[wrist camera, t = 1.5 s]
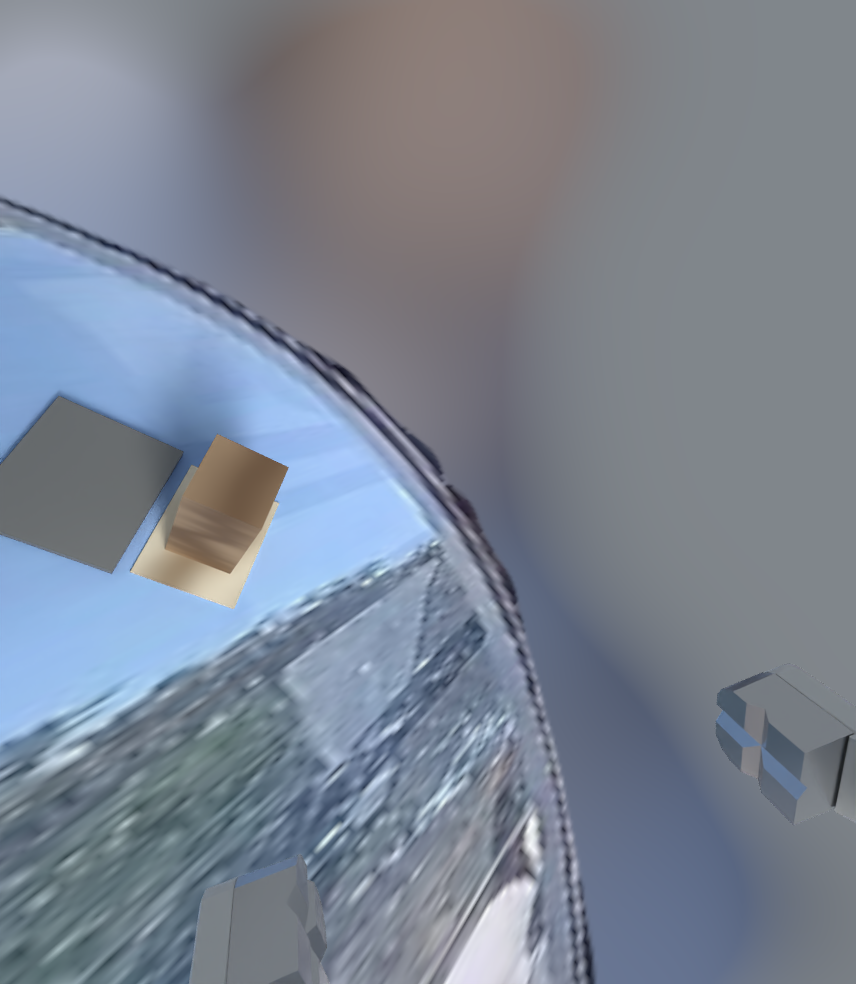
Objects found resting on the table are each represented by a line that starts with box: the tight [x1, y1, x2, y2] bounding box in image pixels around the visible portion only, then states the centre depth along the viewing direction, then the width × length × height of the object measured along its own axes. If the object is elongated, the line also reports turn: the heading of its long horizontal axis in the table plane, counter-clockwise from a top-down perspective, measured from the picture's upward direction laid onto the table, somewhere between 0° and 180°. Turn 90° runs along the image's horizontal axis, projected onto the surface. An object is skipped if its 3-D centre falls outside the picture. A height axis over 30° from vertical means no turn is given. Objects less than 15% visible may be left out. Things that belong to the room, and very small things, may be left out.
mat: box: [0, 396, 183, 574], centre depth 34 cm, size 9×10×1 cm
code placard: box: [130, 465, 279, 609], centre depth 37 cm, size 7×9×1 cm
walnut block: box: [165, 434, 289, 574], centre depth 34 cm, size 5×5×9 cm
